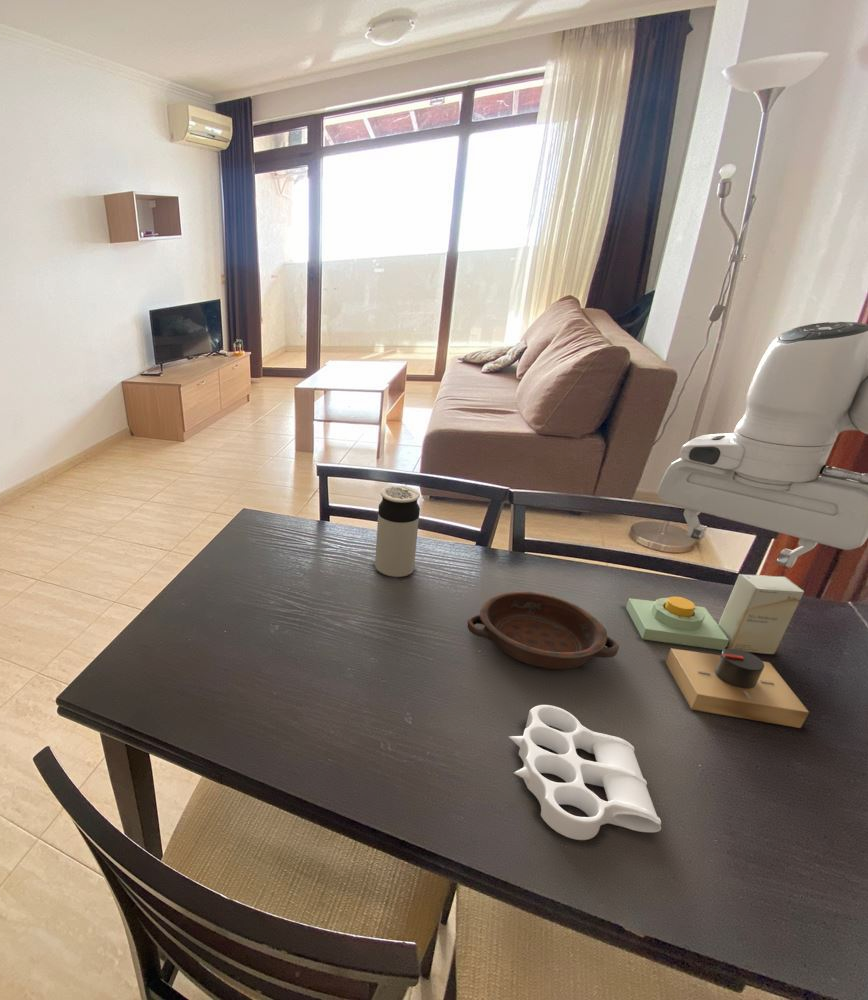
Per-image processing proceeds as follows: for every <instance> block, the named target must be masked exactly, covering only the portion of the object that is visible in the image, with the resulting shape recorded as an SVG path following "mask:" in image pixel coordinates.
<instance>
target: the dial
mask: <svg viewBox="0 0 868 1000" xmlns="http://www.w3.org/2000/svg"><path fill="white" fill-rule="evenodd" d="M720 655H721V657H720V659H719V661H718V664H717V666H716V668H715V674H716V675H717V676H718V677H719V678H720V679H721V680H723V681H724V682H726V683H728V684H730V685H733V686H736V687H739V688H753V687H755V685H756V683H757V681H758V679H759V677H760V675H761V673H762V671H763V668H764V663H763V662H764V661H763V660H762V659H761V658H759V657H758V656H756V655H754V654H753V653H752V652H746V651H742V650H738V649H728V648H725V650H722V652H721V654H720ZM762 661H763V662H762Z"/></svg>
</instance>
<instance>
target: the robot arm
mask: <svg viewBox="0 0 868 1000" xmlns="http://www.w3.org/2000/svg"><path fill="white" fill-rule="evenodd" d="M745 403H746V405H745V406H746V408H745V411H744V413H743V416H742V418H741V419H740V420H739V421H738V422H737V424H736V425H735V427H734V430H733V432H729V433H709V434H702V435H699V436H696V437H694V438H692V439H690V440H689V441H687V442H686V443H684V444H683V445H682V446H681V447H680V451H679V455H678V457H679V458H678V459H676V460H674V461H673V462H671V464H670V465H669V466H668V467H667V469H666V470H665V472H664V474H663V476H662V479H661V481H660V483H659V484H658V485H659V486H658V488H657V492H656V495H657V497H658V500H660V502H662V503H664V504H668V505H672V506H676V507H680V508H684V511H683V514H682V515H683V517H684V519H685V522H686V524H687V527H688V530H687V533H686V538H689V539H693V540H696V541H701V540H702V539H703V538H704V537H705V532H706V531H707V528H708V526H707V525H703V524H701V523H700V520H699V517H698V516H699V515H700V514H701V513H703V514H707V515H711V516H714V517H717V518H722V519H726V520H729V521H732V522H733V521H734V522H737V523H740V524H745V525H749V526H753V527H755V528H758V529H759V528H760V529H763V530H767V531H771V532H775V533H778V534H783V535H785V536H786V535H787V536H790V537H795V538H798V539H799V540H798V542H797V546H798V547H796V548H794V549H788V548H783V549H782V550H781V551H780V552H779V554H778V556H777V559H776V560H775V564H776V565H780V566H784V567H787V568H793V566H794V565H795V564H796V562H797V560H798V557H801V556H802V555H804V554H806V553H808V552H810V551H812V550H813V549H814V548H815V547H816V546H817V545H818V544H819V545H820V544H821V545H824V546H828V547H832V548H836V549H840V550H843V551H851V550H855V549H857V548H861V547H862V546H863V545H864V544H865V543H866V542H867V540H868V473H860V472H856V471H852V470H848V469H844V468H838V467H835V466H828V465H826V463H827V460H828V459H829V457H830V455H831V452H832V449H833V447H834V445H835V442H836V441H837V438H838V436H839V434H841V433H842V432H844V431H845V432H846V431H860V432H861V433H864V434H866V435H868V324H867V323H863V322H856V321H835V322H829V321H825V322H817V323H809V324H805V325H799V326H797V327H793V328H791V329H789V330H786V331H784V332H782V333H781V334H779V335H778V336H776V337H775V339H774V340H772V342H771V343H770V345H769V346H768V347H767V349H766V350H765V352H764V354H763V355H762V358H761V359H760V362H759V363H758V365H757V367H756V370H755V373H754V374H753V377H752V379H751V382H750V385H749V387H748V391H747V393H746V396H745Z"/></svg>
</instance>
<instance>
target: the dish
mask: <svg viewBox="0 0 868 1000" xmlns="http://www.w3.org/2000/svg"><path fill="white" fill-rule="evenodd" d="M466 622H467V629H468V631H469V632H470V634H471V633H472V634H473V635H474V636H476V637H478V638H483V639H485V640H488V641H490V642H492V643H493V644H494V645H495V646H496V647H497V648H498V649H499V650H500V651H502V652H503V653H504V654H506V655H507V656H508V657H511V658H512V659H515V660H517V661H520V662H522V663H525V664H527V665H531V666H534V667H539V668H544V669H549V670H566V669H567V670H569V669H575V668H578V667H580V666H582V665H583V664H585V663H587V662H588V661H590V659H592V658H594V657H595V658H614V657H616V655H617V654H618V650H619V649H620V646H619V644H618V642H617V641H616V640H615V639H613V638H611V637H610V636H608V633H607V630H606V628H605V626H604V625H603V624H602V623H601V622H600V621H599V620H598V619H597V618H596V616H594V615H593V614H592V613H590V612H588V611H587V610H585V609H584V608H582V607H580V606H579V605H577V604H574V603H572V602H570V601H568V600H565V599H563V598H559V597H557V596H554V595H549V594H547V593H541V592H536V591H528V590H520V591H516V590H515V591H507V592H501V593H497V594H496V595H493V596H490V597H489V598H488V599H487V600H486V601H484V603H483V604H482V606H481V607H480V610H479V614H475V615H473V616H471V617H469V618H468V620H467V621H466ZM476 625H483V626H484V627H481V628H480V627H477V626H476Z"/></svg>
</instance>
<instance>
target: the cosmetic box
mask: <svg viewBox="0 0 868 1000" xmlns="http://www.w3.org/2000/svg"><path fill="white" fill-rule="evenodd" d="M804 593H805V591H804V589H802V588H800V587H799V586H798V585H797V584H795V583H794V582H793V581H791V580H790V579H789V578H788V577H786V576H783V575H780V576H779V575H765V574H748V573H747V574H746V573H739V574H738V575H737V578H736V581H735V583H734V586H733V589H732V591H731V593H730V595H729V598H728V600H727V603H726V605H725V607H724V609H723V612H722V615H721V617H720V619H719V622H718V623H717V625H718V626H719V627H720V629H721V630H722V631H723V633H724V634H725V635H726V637H727V638H728V639H729V641H728V644H727V646H726V649H738V650H742V651H746V652H748V653H755V654H765V655H775V654H776V651H777V650H778V647H779V646H780V643H781V641H782V639H783V638H784V635H785V633H786V632H787V631H786V630H787V629H788V626H789V624H790V623H791V620H792V618H793V616H794V614H795V612H796V610H797V608H798V606H799V603H800V601H801V599H802V597H803V595H804Z"/></svg>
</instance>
